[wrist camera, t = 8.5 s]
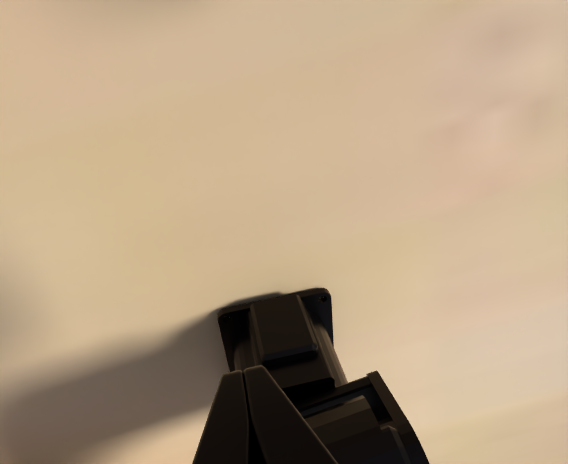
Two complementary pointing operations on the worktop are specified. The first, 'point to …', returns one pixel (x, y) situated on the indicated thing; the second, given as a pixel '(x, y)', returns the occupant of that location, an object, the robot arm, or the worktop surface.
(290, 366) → the robot arm
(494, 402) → the worktop surface
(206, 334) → the worktop surface
